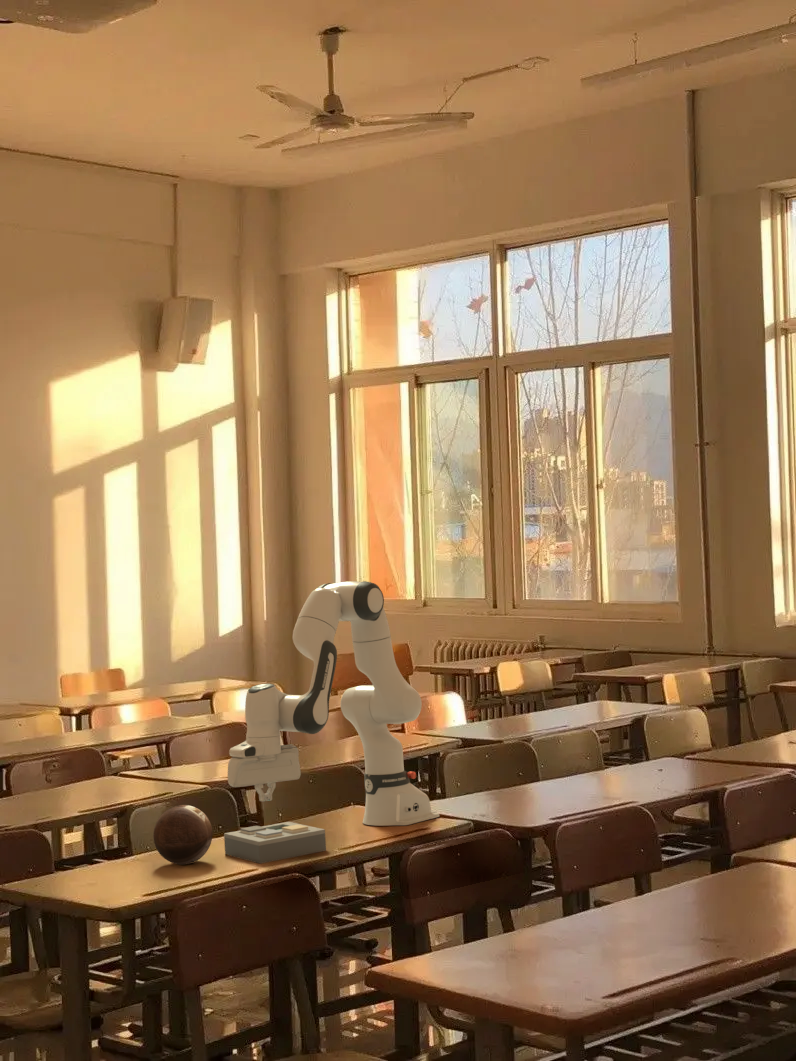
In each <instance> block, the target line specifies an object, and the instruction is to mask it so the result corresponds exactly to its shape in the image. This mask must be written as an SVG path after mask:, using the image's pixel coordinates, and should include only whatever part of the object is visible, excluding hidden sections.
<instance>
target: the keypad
mask: <svg viewBox="0 0 796 1061" xmlns="http://www.w3.org/2000/svg"><path fill="white" fill-rule="evenodd" d="M298 824H299V825H303V826H308V830H309V831H305V832H300V833H294V834H289V833H285V832H282V836H278V837H273V838H267V839H263V838H259V837H256V834H253V835H246V834H242V833H240V830H237V831H230V832H225V833H223V839H224V854H225V855H226V854H228V855H227V856H230V855H231V856H230V857H234V858H238V859H242V860H245V861H250V862H253V863H257V864H264V863H265V864H266V863H270V862H275V861H279V860H285V859H290V858H295V857H301V856H306V855H310V854H316V853H320V852H324V851H327V842H326V829H324V828H321V827H320V828H319V827H315V826H311V825H306V824H300V823H296V822H292V821H286V822H280V823H279V822H278V823H274V824H268V825H263V826H261V827H265V828H266V830H270V829H274V830H277V829H280V830H278V831H282V827H287V826H292V825H298Z"/></svg>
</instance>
